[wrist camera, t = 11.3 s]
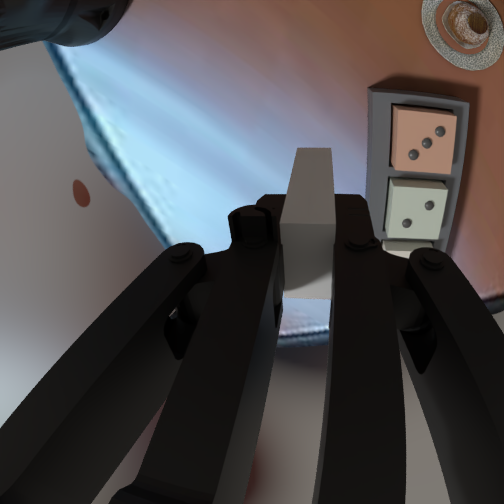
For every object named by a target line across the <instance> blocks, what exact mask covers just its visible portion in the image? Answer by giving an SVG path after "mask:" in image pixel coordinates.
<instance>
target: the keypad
mask: <svg viewBox="0 0 504 504" xmlns="http://www.w3.org/2000/svg"><path fill="white" fill-rule="evenodd" d="M391 103H394V104H406V105H416V106H426V107H434V108H442V109H446V110H447V111H449V112H451V113H452V114H454V115H455V116H457V120H456V132H455V142H454V151H453V159H452V167H451V174H441V173H429V172H415V171H400V170H395V169H394V167H393V165H392V163H391V161H390V159H389V151H390V126H391ZM468 117H469V103H468V102H466V101H464V100H462V99H460V98H458V97H453V96H447V95H440V94H433V93H425V92H416V91H407V90H396V89H383V88H368V148H367V176H366V194H365V200H366V201H367V203H368V208H369V212H370V216H371V221H372V225H373V230H374V235H375V237H376V238H377V239H379V241H380V242H381V239H387V240H416V241H431V244H432V246H433V248H435V249H438V250H440V251H442V252H444V253H445V251H446V247H447V243H448V239H449V235H450V231H451V226H452V222H453V217H454V213H455V208H456V203H457V198H458V193H459V187H460V181H461V175H462V169H463V162H464V155H465V147H466V138H467V129H468ZM388 176H392V177H409V178H424V179H437V180H441V181H442V182H443V184H444V185H445V187H446V188H447V189H448V192H447V198H446V204H445V209H444V214H443V219H442V224H441V228H440V233H439V237H438V239H415V238H388V237H387V233H386V229H385V225H384V222H383V221H384V213H385V203H386V193H387V181H388Z"/></svg>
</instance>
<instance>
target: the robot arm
mask: <svg viewBox="0 0 504 504" xmlns="http://www.w3.org/2000/svg"><path fill="white" fill-rule="evenodd" d="M127 2H128V0H0V51H1V50H5V49H8V48H12V47H16V46H20V45H24V44H29V43H33V42H37V41H43V40H45V41H48V42H52V43H55V44H59V45H62V46H67V47H76V46H82V45H88V44H91V43H93V42H96V41H98V40H99V39H101V38H102V37H104V36H105V35H106V34H107V33H109V32H110V31H111V30H112V28H113V27H114V26H115V25H116V24H117V22H118V21H119V19H120V18H121V16H122V14H123V12H124V10H125V7H126V5H127ZM228 221H229V227H230V233H231V239H232V242H231V245H230V247H229V249H227V250H224V251H220V252H215V253H209V254H204V250H203V248H202V247H201V246H200V245H199V244H196V243H190V242H184V243H178V244H176V245H173V246H171V247H169V248H168V249H166V250H165V251H163V252H162V253H161V254H160V255H159V256H158V257H157V258H156V259H155V260H154V261H153V262H152V263H151V264H150V265H149V266H148V267H147V268H146V269H145V270H144V271H143V272H142V273H141V274H140V275H139V276H138V277H137V278H136V279H135V280H134V281H133V282H132V283H131V284H130V285H129V286H128V287H127V288H126V289H125V290H124V291H123V292H122V293H121V294H120V295H119V296H118V297H117V298H116V299H115V300H114V301H113V302H112V303H111V304H110V305H109V306H108V307H107V308H106V309H105V310H104V311H103V312H102V313H101V314H100V316H99V317H98V318H97V319H96V320H95V321H94V322H93V323H92V324H91V325H90V326H89V327H88V328H87V329H86V330H85V331H84V333H82V335H81V336H80V337H79V338H78V339H77V340H76V341H75V342H74V343H73V344H72V345H71V346H70V348H69V349H68V350H67V351H66V352H65V353H64V354H63V355H62V356H61V358H60V359H59V360H58V361H57V362H56V363H55V364H54V365H53V366H52V368H51V369H50V370H49V371H48V372H47V373H46V374H45V375H44V377H43V378H42V379H41V380H40V381H39V382H38V384H37V385H36V386H35V387H34V388H33V389H32V390H31V392H30V393H29V394H28V395H27V396H26V398H25V399H24V400H23V401H22V402H21V404H20V405H19V406H18V407H17V408H16V410H15V411H14V412H13V413H12V414H11V416H10V417H9V418H8V419H7V421H6V422H5V423H4V424H3V426H2V427H1V428H0V504H91V503H92V501H93V500H94V499H95V497H96V496H97V495H98V493H99V492H100V490H101V489H102V488H103V486H104V485H105V484H106V482H107V481H108V480H109V478H110V477H111V475H112V474H113V473H114V471H115V470H116V469H117V467H118V466H119V464H120V463H121V462H122V460H123V459H124V457H125V456H126V455H127V453H128V452H129V450H130V449H131V448H132V446H133V445H134V443H135V442H136V441H137V439H138V438H139V436H140V435H141V433H142V432H143V431H144V429H145V428H146V426H147V425H148V424H149V422H150V421H151V419H152V418H153V417H154V415H155V414H156V413H157V411H158V410H159V408H160V407H161V405H162V404H163V403H164V401H165V400H166V398H167V400H166V403H165V405H164V408H163V410H162V413H161V415H160V418H159V420H158V423H157V425H156V428H155V431H154V433H153V436H152V438H151V441H150V444H149V446H148V449H147V451H146V454H145V457H144V459H143V462H142V465H141V467H140V470H139V472H138V475H137V477H136V479H135V480H134V481H133V482H132V484H130V485H128V486H126V487H124V488H122V489H120V490H118V491H117V492H116V494H115V495H114V496H113V497H112V498H111V500H110V502H109V504H243V501H244V497H245V493H246V489H247V484H248V480H249V476H250V472H251V467H252V463H253V458H254V454H255V449H256V445H257V440H258V436H259V431H260V426H261V421H262V417H263V412H264V407H265V402H266V397H267V392H268V387H269V382H270V377H271V371H272V367H273V362H274V356H275V350H276V346H277V340H278V335H279V329H280V324H281V318H282V312H283V303H282V296H283V291H284V298H304V299H330V300H331V308H330V320H329V348H328V363H327V378H326V390H325V402H324V413H323V423H322V433H321V441H320V449H319V457H318V465H317V472H316V480H315V486H314V493H313V500H312V504H405V495H406V428H405V407H404V392H403V380H402V369H401V359H400V351H401V354H402V357H403V359H404V362H405V364H406V367H407V369H408V372H409V375H410V377H411V380H412V382H413V385H414V388H415V390H416V393H417V396H418V399H419V401H420V404H421V407H422V410H423V413H424V416H425V418H426V421H427V424H428V427H429V430H430V433H431V436H432V439H433V443H434V446H435V449H436V452H437V455H438V459H439V462H440V465H441V469H442V472H443V476H444V479H445V483H446V487H447V490H448V494H449V498H450V502H451V504H504V334H503V332H502V330H501V329H500V327H499V326H498V324H497V322H496V321H495V319H494V318H493V316H492V315H491V313H490V312H489V310H488V309H487V307H486V306H485V304H484V303H483V301H482V300H481V298H480V297H479V295H478V294H477V292H476V291H475V290H474V288H473V287H472V285H471V284H470V283H469V281H468V280H467V278H466V277H465V276H464V274H463V273H462V272H461V270H460V269H459V268H458V266H457V265H456V264H455V262H454V261H453V260H452V259H451V258H450V257H449V256H448V255H447V254H446V253H444V252H442V251H440V250H438V249H435V248H431V247H421V248H417V249H414V250H413V251H412V252H411V253H410V256H409V259H408V258H404V257H400V256H397V255H394V254H391V253H389V252H387V251H385V250H383V248H382V244H381V242H380V241H379V239H377V238H376V237H375V235H374V230H373V225H372V221H371V216H370V212H369V208H368V203H367V201H366V200H365V199H364V198H363V197H362V196H361V195H358V194H334V180H333V166H332V153H331V148H297V152H296V156H295V160H294V165H293V169H292V173H291V178H290V182H289V186H288V190H287V194H265V195H264V196H262V197H261V198H260V199H259V200H257V202H256V205H247V206H243V207H240V208H237V209H235V210H234V211H232V212H231V213H230V214H229V215H228ZM174 309H175V310H176V311H175V312H174V313H173V314H172V315H171V316H170V317H169V315H170V314H171V313H172V311H173V310H174ZM399 349H400V350H399Z"/></svg>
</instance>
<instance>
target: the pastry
mask: <svg viewBox="0 0 504 504" xmlns="http://www.w3.org/2000/svg"><path fill="white" fill-rule="evenodd" d="M442 1H443V0H423V4H422V11H421V12H422V23H423V26H424V29H425V32H426V35H427V37H428V39H429V41H430V43H431V44H432V45H433V46H434V48H435V49H436V50H437V52H439V54H440V55H441V56H443V57H444V58H445V59H446V60H447V61H449V62H450V63H452V64H454V65H455V66H457V67H460V68H462V69H466V70H482V69H486V68H487V67H489V66H491V65H493V64H494V63H495V62H496V61H497V60H498V59H499V57H500V55H501V53H502V50H503V45H504V31H503V25H502V22H501V19H500V17H499V15H498V13H497V11H496V9H495V8H494V6H493V5H492V4H491V3H490V2H489V0H469V1H471V2H472V3H474V4H475V5H476V6H477V7H478V8H479V9H480V10H481V11H482V12H481V11H480V10H479V9H478V8H476V7H474V6H472V5H470V4H469V3H466V2H463V1H462V2H461V1H456V2H453V3H452V4H450V5H449V6H448V8H447V9H446V10H445V13H444V15H443V17H442V22H443V25H444V27H445V29H446V31H447V32H448V34H450V36H451V37H452V38H453V39H454V40H455V41H456V42H457V43H458V44H459V45H461V46H462V47H464V48H467V49H469V48H470V49H471V48H476V47H479V46H480V45H481V44H483V42H484V41H485V40H486V39H487V38H488V36H489V41H488V43H487V45H486V47H485V48H484V49H483V50H482V51H481V52H479V53H476V54H471V55H468V54H463V53H460V52H458V51H456V50H454V49H453V48H451V47H450V46H449V45H448V44H447V43H446V42H445V41H444V40H443V38H442V36H441V35H440V33H439V31H438V28H437V25H436V17H435V16H436V10H437V7H438V5H439V4H440V3H441V2H442ZM488 34H489V35H488Z"/></svg>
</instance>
